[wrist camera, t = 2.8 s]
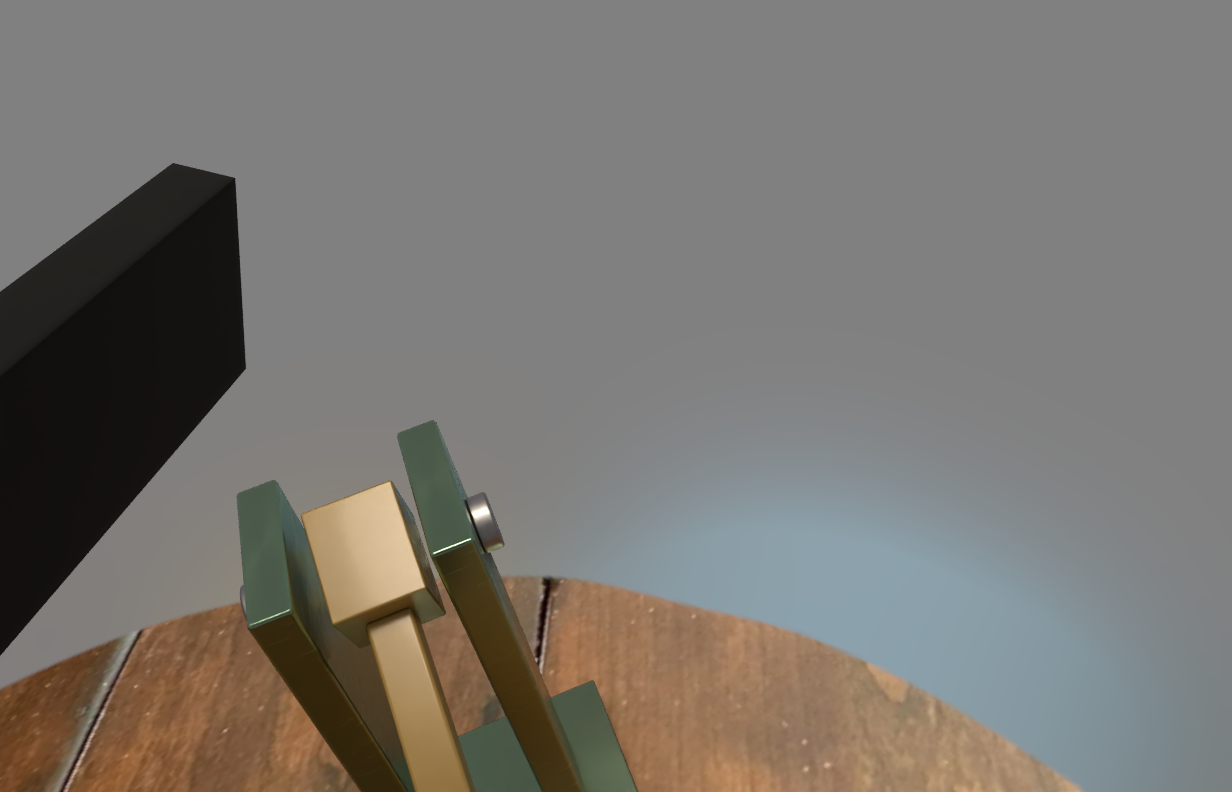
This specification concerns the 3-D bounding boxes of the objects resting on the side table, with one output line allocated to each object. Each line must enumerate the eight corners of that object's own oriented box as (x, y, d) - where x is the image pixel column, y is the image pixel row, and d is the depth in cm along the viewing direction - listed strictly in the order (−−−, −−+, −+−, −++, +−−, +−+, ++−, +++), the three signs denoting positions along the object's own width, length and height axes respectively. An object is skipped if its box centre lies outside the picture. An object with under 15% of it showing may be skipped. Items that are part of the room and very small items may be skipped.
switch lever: (621, 1016, 22) (613, 1035, 19) (459, 1090, 22) (424, 1122, 19) (443, 510, 28) (413, 458, 24) (309, 563, 27) (261, 516, 24)
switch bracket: (684, 910, 32) (564, 571, 21) (428, 1025, 31) (175, 727, 20) (600, 698, 38) (476, 356, 27) (384, 789, 37) (172, 468, 26)
